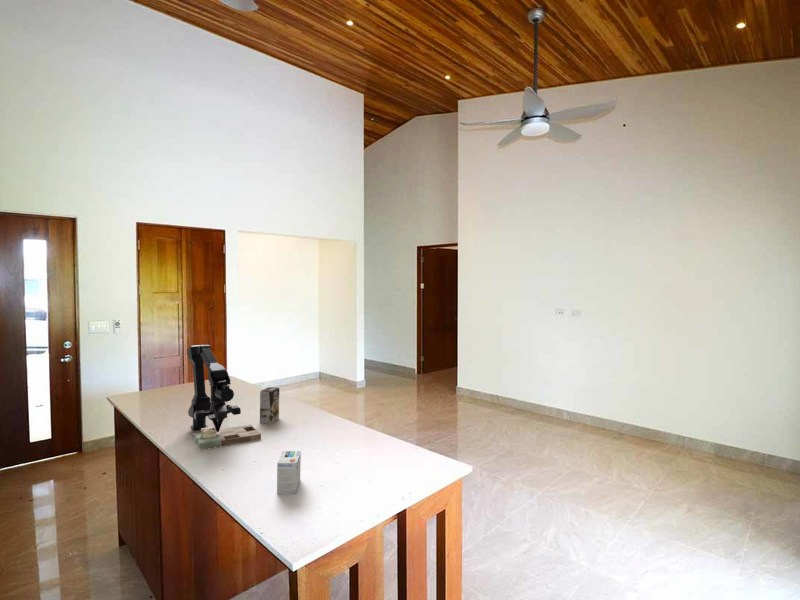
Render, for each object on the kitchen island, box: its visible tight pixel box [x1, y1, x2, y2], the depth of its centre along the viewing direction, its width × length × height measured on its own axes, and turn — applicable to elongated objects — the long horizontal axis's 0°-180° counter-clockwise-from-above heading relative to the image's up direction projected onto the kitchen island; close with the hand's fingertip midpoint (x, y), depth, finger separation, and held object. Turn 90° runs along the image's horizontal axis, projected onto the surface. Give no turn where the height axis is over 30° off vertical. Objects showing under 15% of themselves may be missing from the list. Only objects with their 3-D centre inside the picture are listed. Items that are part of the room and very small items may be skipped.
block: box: [200, 426, 216, 438], centre depth 197 cm, size 5×5×3 cm
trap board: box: [193, 424, 262, 451], centre depth 200 cm, size 15×25×2 cm, turn 125°
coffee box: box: [259, 386, 280, 424], centre depth 227 cm, size 9×6×16 cm
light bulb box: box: [276, 450, 302, 495], centre depth 156 cm, size 11×7×11 cm, turn 5°
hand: (217, 431), depth 199 cm, fingers closed
